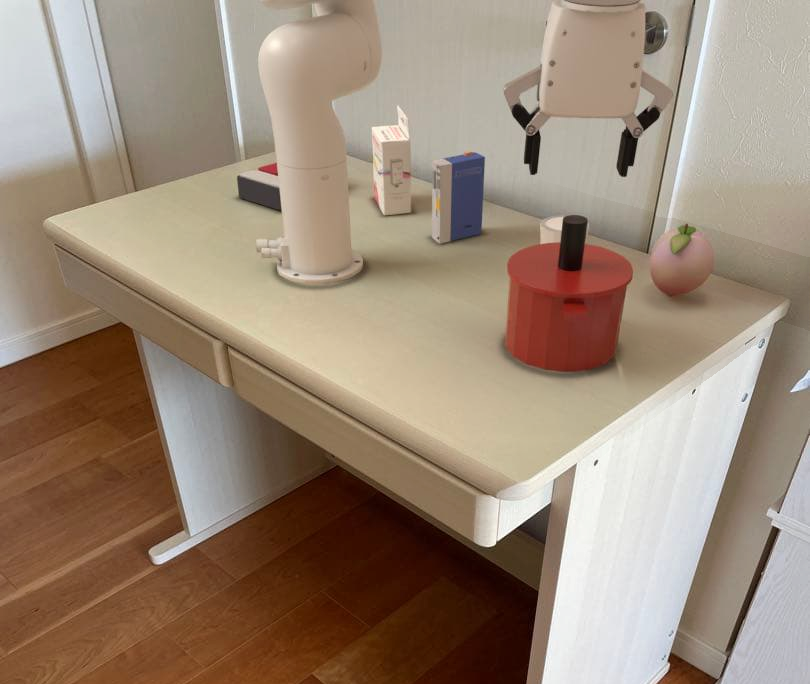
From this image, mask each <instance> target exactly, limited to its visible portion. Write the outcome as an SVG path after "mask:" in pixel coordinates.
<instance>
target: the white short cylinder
mask: <svg viewBox="0 0 810 684" xmlns="http://www.w3.org/2000/svg"><path fill="white" fill-rule="evenodd" d="M565 216H568V215H567V214H565V215H563V214H562V215H560V214H559V215H552V216H548V217H545V218H543V219H542V220H541V221H540V222H539V230H540V231H539V233H540V234H539V244H544V243H555V242H560V240H561V231H562V222H563V218H564V217H565ZM590 227H591V226H590V223H589V222H588V224H587V231H586V239H585V244H587V241H588V235H589V232H590Z"/></svg>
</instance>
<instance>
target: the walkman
mask: <svg viewBox="0 0 810 684" xmlns="http://www.w3.org/2000/svg"><path fill="white" fill-rule="evenodd" d="M485 162H486V156H484V155H482V154H480V153H478V152H475V151H474V152H473V151H472V150H468V151H464V152H463V154H459V155H454V156H447V157H444V158H439V159H433V160H432V169H431V170H432V171H431V172H432V176H431V177H432V178H431V180H432V181H431V182H432V183H431V185H432V186H431V188H432V189H431V191H432V192H431V193H432V194H431V239H432V240H434V242H436V243H437V244H439V245H440V244H445V243H450V242H453V241H457V240H461V239H465V238H469V237H470V238H471V237H474V236H478V235H482V233H483V231H482V229H483V210H484V209H483V207H484V187H485V166H486V165H485V164H486V163H485Z"/></svg>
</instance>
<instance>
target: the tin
mask: <svg viewBox="0 0 810 684" xmlns="http://www.w3.org/2000/svg"><path fill="white" fill-rule="evenodd" d="M508 282H509V283H508V294H507V295H508V296H507V309H506V310H507V311H506V323H505V336H504V337H505V339H504V340H505V348H506V349H507V351H508V352H509V353H510V354H511V355H512V357H514V359H516V360H518V361H520V362H522V363H524V364H525V365H527V366H531V367H535V368H538V369H541V370H545V371H555V372H565V373H566V372H581V371H587V370H590V369H594V368H597V367H600V366H603V365H604V364H606V363H607V362H609V361H610V360H612V359H613V357H615V355H616V352H617V349H618V343H619V338H620V330H621V326H622V325H621V324H622V319H623V312H624V306H625V300H626V294H627V289H628V285H627V286H626V287H625V288H623V289H621V290H620V291H617V292H615V293H612V294H609V295H605V296H600V297H593V298H561V297H554V296H548V295H543V294H540V293H536V292H533V291H530V290H528V289H526V288H523V287H521V286H520V285H518V284H517V283H515V282H514V281H513V280H512V279H511V278H510V277H509V280H508Z"/></svg>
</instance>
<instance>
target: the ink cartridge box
mask: <svg viewBox="0 0 810 684" xmlns="http://www.w3.org/2000/svg"><path fill="white" fill-rule="evenodd" d="M396 111H397V120H398V124H394V125H392V124H391V125H381V126H380V125H378V126H371V143H372V144H371V145H372V169H373V173H372V174H373V197H374V198H373V199H374V200H375V201H376V203H377V206H378V207H379V210H380V211H381V213H382V214H383V216H393V215H403V214H411V213H412V172H411V171H412V170H411V169H412V168H411V167H412V166H411V164H412V163H411V157H412V156H411V152H412V151H411V134H410V123H409V122H410V121H409V118H408V116H407V115H406V114H405V112H404V111H403V110H402V108H401V107H400V106H399V105H397V106H396Z"/></svg>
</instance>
